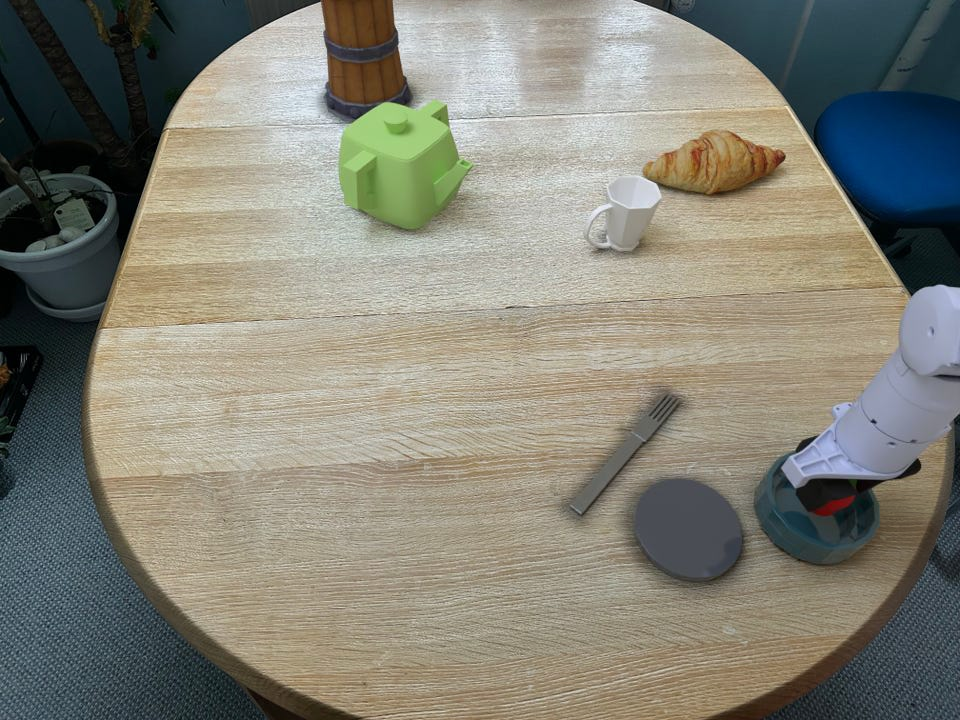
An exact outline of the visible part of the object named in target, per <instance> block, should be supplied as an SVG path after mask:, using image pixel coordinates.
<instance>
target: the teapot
mask: <svg viewBox="0 0 960 720" xmlns="http://www.w3.org/2000/svg"><path fill="white" fill-rule="evenodd" d="M450 127H451V126H450V119H449V111H448V104H446V103H444V102H442V101H439V100H437V99H435V98H434V99H432V100H431V101H429V102H428V103H426V104H425V105H423V106H422V107H421V108H419V109H415V108H412V107H410V106H409V107H406V106H403V105H399V104H395V103H390V102H385V103H382V104H380V105H379V106H377V107H375V108H373V109H372V110H370V111H369V112H367V113H366V114H364V115H363V116H361V117H360V118H359V119H357V120H356V121H354V122H351V123H350V124H349V125H348V126H347V127H345V128H344V130H343V131H342V134H341V139H340V145H339V153H338V163H337V164H338V165H337V171H338V181H339V186H340V189H341V191H342V193H343V203H344V205H347V206H349V207H351V208H353V209H355V210H357V211H358V210H361V211H363V212H364V213H366V214H368V215H370V216H372V217H373V218H375V219H377V220H380V221H382V222H384V223H388V224H390V225H393V226H396V227H399V228H403V229H407V230H418V229H420V228H421V227H423V226H424V225H426V224H427V223H429V222H430V221H431V220H432V219H433V218H435V217H436V216H437V215H438V214H439V213H441V212H442V211H443V210H444V209H445V208H446V207H448V206H449V204H450V203H451V202H452V201H453V200H454V199H455V198H456V197H457V195H458V193H459V190H460V188H461V186H462V182H463V181H464V179H465V178H466V176H467V175H468V174H469V172H471V170H472V169H473V168H474V163H473V162H471V161H469V160H467V159H466V158H464V157H461V158H460V155H459V151H458V148H457V144H456V141H455V139H454V135H453V133H452V131H451V128H450Z"/></svg>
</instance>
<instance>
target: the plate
mask: <svg viewBox="0 0 960 720" xmlns="http://www.w3.org/2000/svg"><path fill="white" fill-rule="evenodd" d="M632 530H633V534H634V535H633V536H634V538H635V541H636V543H637V545H638V547H639V549H640V551H641V552H642V554H643V555H644V556H645V558H646V559H647V560H648V561H649V562H650V563H651V564H652V565H653V566H654V567H655V568H657V569H658V570H659V571H660V572H663V573H664V574H666V575H668V576H670V577H671V578H675V579H678V580H681V581H685V582H691V583H696V582H698V583H701V582H707V581H711V580H715V579H716V578H719V577H721V576H723V575H724V574H726V572H728V571H729V570H730V568H731V567H732V566H733V565H734V564H735V562H736V561H737V559H738V557H739V556H740V553H741V551H742V547H743V529H742V526H741V522H740V519H739V517H738V515H737V512H736V511H735V509H734V508H733V506H732V504H730V503H729V502H728V500H727V499H726V498H725V497H724V496H723V495H722V494H720V492H718V491H717V490H715V489H713V488H712V487H710V486H708V485H706V484H705V483H703V482H699V481H697V480H693V479H689V478H680V477H679V478H678V477H677V478H668V479H664V480H661V481H659V482H655V483H654V484H652V485H651V486H650V487H648V488H647V489H646V490H645V491H644V492H643V493H642V494H641V496H640V497H639V499H638V501H637V504H636V506H635V507H634V511H633V517H632Z"/></svg>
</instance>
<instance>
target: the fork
mask: <svg viewBox="0 0 960 720" xmlns="http://www.w3.org/2000/svg"><path fill="white" fill-rule="evenodd" d="M680 402H681V400H680V399H679V398H677V397H676V396H673V395H672V394H671V393H669V392H668V391H665V392H664V393H663V394H662V395H661V396H660V398H659V399H658V400H657V401H656V402H655V404H654V405H653V406H652V407H651V408H650V409H649V410H648V411H647V413H646V414H645V415H644V416H643V417H642V418H641V419H640V421H639V422H638V423H637V424H636V426H634V428H633V429H632V430H631V431H630V433H629V434H630V435H629V436H628V438H627V439H625V441H624V442H623V444H622V445H620V447H619V448H618V449H617V450H616V451H615V453H614V454H613V455H612V456H611V457H610V459H608V460H607V462H606V463H605V464H604V465H603V466H602V467H601V469H600V470H599V471H598V472H597V473H596V474H595V475H594V477H593V478H592V479H591V480H590V481H589V483H588V484H587V485H586V486H585V487H584V488H583V489H582V491H581V492H580V493H579V494H578V495H577V496H576V498H575V499H574V500H572V502H571V503H570V504H569V509H570V510H572V511H573V512H574V513H576V514H578V515H579V516H581V517H582V515H583V514H584V513H585V512H586V511H587V510H588V509H589V507H590V506H591V505H592V504H593V503H594V502H595V500H596V499H597V498H598V496H599V495H600V494H601V493H602V492H603V491H604V490H605V488H606V487H607V486H608V485H609V484H610V482H611V481H612V480H613V479H614V478H615V477H616V475H617V474H618V473H619V472H620V471H621V469H622V468H623V467H624V466H625V465H626V464H627V462H628V461H629V460H630V459H631V458H632V457H633V455H634V454H636V452H637V450H639V449H640V447H641V446H642V445H643V444H646V443H647V442H648V441H649V439H651V437H652V436H653V435H654V433H655V432H656V431H657V430H658V429H659V428H660V427H661V425H662V424H663V423H664V422H665V421H666V420H667V418H668V417H669V416H670V414H672V412H673V411H674V410H675V409H676V408H677V406H678V405H679V404H680Z"/></svg>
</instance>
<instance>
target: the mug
mask: <svg viewBox="0 0 960 720" xmlns="http://www.w3.org/2000/svg"><path fill="white" fill-rule="evenodd" d="M320 5H321V11H322V18H323V23H324V24H323V25H324V31H323V32H322V35H323V41H324V45H325V48H326V62H327V63H326V64H327V78H328V80H327V81H326V82H325V85H324V88H325V90H326V92H325V94H323V101H324V104H325V107H326V109H327V112H328V113H330V114H331V115H333V116H335V117H337V118H338V119H340V120H342V121H343V122H349V123H353V122H354V121H356V120H357V119H359V118H360V117H361V116H363V115H364V114H366V113H367V112H369V111H370V110H372V109H373V108H375V107H377V106H379V105H380V104H382V103H385V102H390V103H395V104H399V105H403V106H406V107H409V108H410V105H411V103H412V101H413V99H414V95H413V93H412V91H411V89H410V87H409V82H408V78H407V76H406V75H404V71H403V65H402V60H401V54H400V49H399V45H400V39H399V30H398V29H397V26H396V23H395V14H394V13H395V11H394V0H320Z"/></svg>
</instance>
